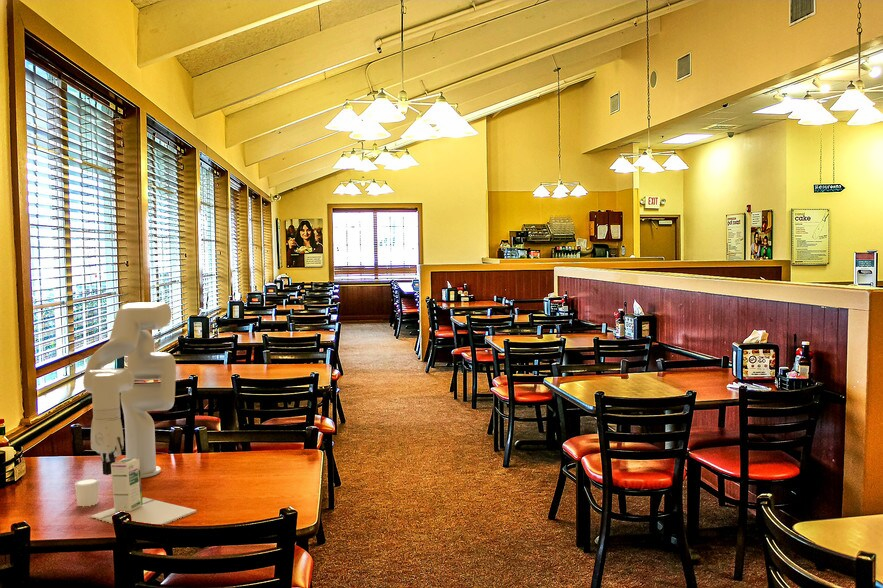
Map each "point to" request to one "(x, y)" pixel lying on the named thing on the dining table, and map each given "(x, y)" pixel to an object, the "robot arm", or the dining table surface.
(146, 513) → the mat
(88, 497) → the white short cylinder
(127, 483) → the syrup box
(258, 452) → the dining table surface
